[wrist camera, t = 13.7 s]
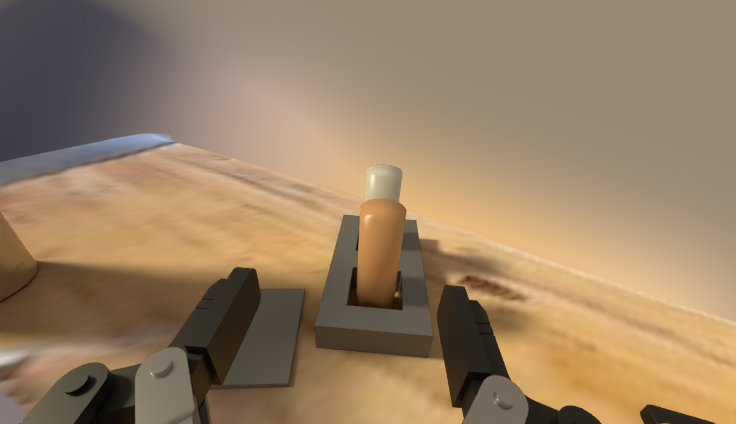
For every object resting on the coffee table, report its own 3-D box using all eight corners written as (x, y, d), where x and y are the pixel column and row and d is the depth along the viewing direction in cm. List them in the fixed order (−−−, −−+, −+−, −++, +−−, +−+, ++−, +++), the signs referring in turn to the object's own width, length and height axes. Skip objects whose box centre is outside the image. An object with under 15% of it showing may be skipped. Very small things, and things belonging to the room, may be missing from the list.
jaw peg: (353, 322, 28) (358, 219, 22) (357, 293, 31) (362, 196, 25) (392, 325, 28) (407, 223, 22) (392, 296, 31) (405, 200, 25)
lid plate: (185, 393, 22) (181, 386, 22) (230, 295, 31) (228, 288, 30) (289, 390, 23) (288, 383, 23) (305, 295, 32) (304, 288, 31)
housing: (316, 347, 26) (308, 239, 20) (343, 232, 41) (344, 152, 35) (427, 357, 25) (455, 251, 19) (413, 238, 41) (426, 157, 35)
